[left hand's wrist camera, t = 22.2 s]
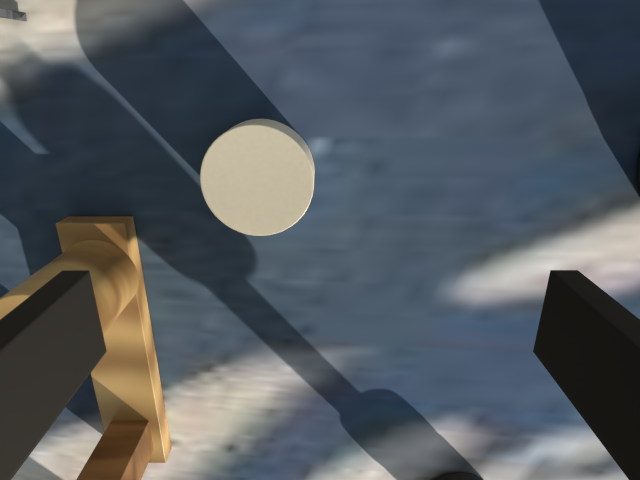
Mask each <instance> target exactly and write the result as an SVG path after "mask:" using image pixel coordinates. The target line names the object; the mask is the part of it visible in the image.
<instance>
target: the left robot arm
mask: <svg viewBox="0 0 640 480" xmlns="http://www.w3.org/2000/svg"><path fill="white" fill-rule="evenodd" d="M638 184H639V189H640V156H639V161H638ZM106 352H107V350H106V345H105V341H104V336H103V332H102V327H101V322H100V318H99V313H98V308H97V304H96V299H95V295H94V290H93V285H92V281H91V276H90V271H89V270H62V271H61V272H60V273H59V274H57V275H56V276H55V277H53V278H52V279H51V280H50V281H48V282H47V283H46V284H45V285H43V286H42V287H41V288H40V289H38V290H37V291H36V292H35V293H33V294H32V295H31V296H30V297H28V298H27V299H26V300H24V301H23V302H22V303H21V304H19V305H18V306H17V307H16V308H14V309H13V310H12V311H11V312H9V313H8V314H7V315H6V316H4V317H3V318H2V319H1V320H0V480H11V479H12V478H13V476H14V475H15V474H16V472H17V471H18V469H19V468H20V467H21V465H22V464H23V463H24V461H25V460H26V459H27V457H28V456H29V455H30V453H31V452H32V451H33V449H34V448H35V447H36V445H37V444H38V443H39V441H40V440H41V439H42V437H43V436H44V435H45V433H46V432H47V431H48V429H49V428H50V427H51V425H52V424H53V423H54V421H55V420H56V419H57V417H58V416H59V415H60V413H61V412H62V411H63V409H64V408H65V407H66V405H67V404H68V403H69V401H70V400H71V399H72V397H73V396H74V395H75V393H76V392H77V391H78V389H79V388H80V387H81V385H82V384H83V383H84V381H85V380H86V378H87V377H88V376H89V374H90V373H91V372H92V370H93V369H94V368H95V366H96V365H97V364H98V362H99V361H100V360H101V358H102V357H103V356H104V354H105V353H106ZM533 352H534V353H535V354H536V356H537V357H538V358H539V360H540V361H541V362H542V364H543V365H544V366H545V368H546V369H547V370H548V372H549V373H550V374H551V376H552V377H553V379H554V380H555V381H556V383H557V384H558V385H559V387H560V388H561V389H562V391H563V392H564V393H565V395H566V396H567V397H568V399H569V400H570V401H571V403H572V404H573V405H574V407H575V408H576V409H577V411H578V412H579V413H580V415H581V416H582V417H583V419H584V420H585V421H586V423H587V424H588V425H589V427H590V428H591V429H592V431H593V432H594V433H595V435H596V436H597V437H598V439H599V440H600V441H601V443H602V444H603V445H604V447H605V448H606V449H607V451H608V452H609V453H610V455H611V456H612V457H613V459H614V460H615V461H616V463H617V464H618V465H619V467H620V468H621V469H622V471H623V472H624V474H625V475H626V476H627V478H628V479H629V480H640V320H639V319H638V318H637V317H636V316H634V315H633V314H632V313H631V312H629V311H628V310H627V309H626V308H624V307H623V306H622V305H621V304H619V303H618V302H617V301H616V300H614V299H613V298H612V297H610V296H609V295H608V294H607V293H605V292H604V291H603V290H602V289H600V288H599V287H598V286H597V285H595V284H594V283H593V282H592V281H590V280H589V279H588V278H587V277H585V276H584V275H583V274H581V273H580V272H579V271H578V270H551V271H550V276H549V281H548V285H547V290H546V295H545V299H544V304H543V308H542V313H541V318H540V322H539V327H538V332H537V336H536V341H535V345H534V350H533Z"/></svg>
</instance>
